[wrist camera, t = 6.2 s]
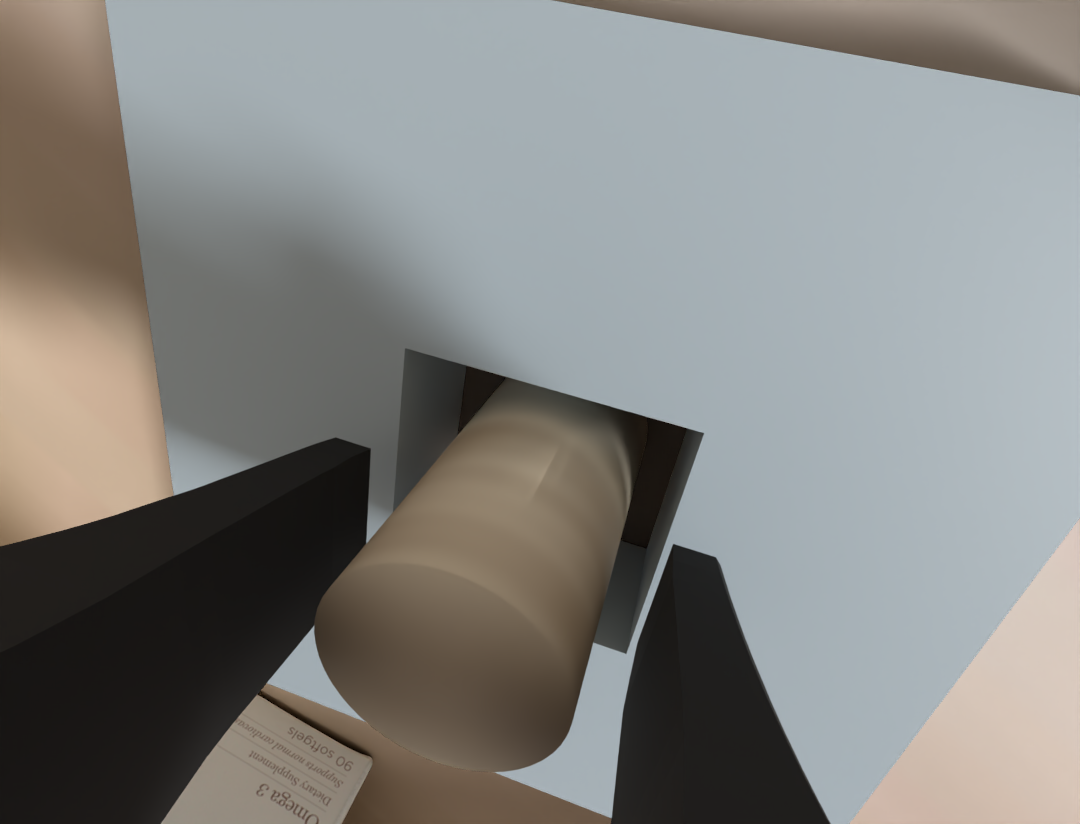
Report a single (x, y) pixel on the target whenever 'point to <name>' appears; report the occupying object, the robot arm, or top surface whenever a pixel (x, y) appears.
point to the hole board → (636, 312)
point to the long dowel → (488, 583)
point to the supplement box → (272, 774)
